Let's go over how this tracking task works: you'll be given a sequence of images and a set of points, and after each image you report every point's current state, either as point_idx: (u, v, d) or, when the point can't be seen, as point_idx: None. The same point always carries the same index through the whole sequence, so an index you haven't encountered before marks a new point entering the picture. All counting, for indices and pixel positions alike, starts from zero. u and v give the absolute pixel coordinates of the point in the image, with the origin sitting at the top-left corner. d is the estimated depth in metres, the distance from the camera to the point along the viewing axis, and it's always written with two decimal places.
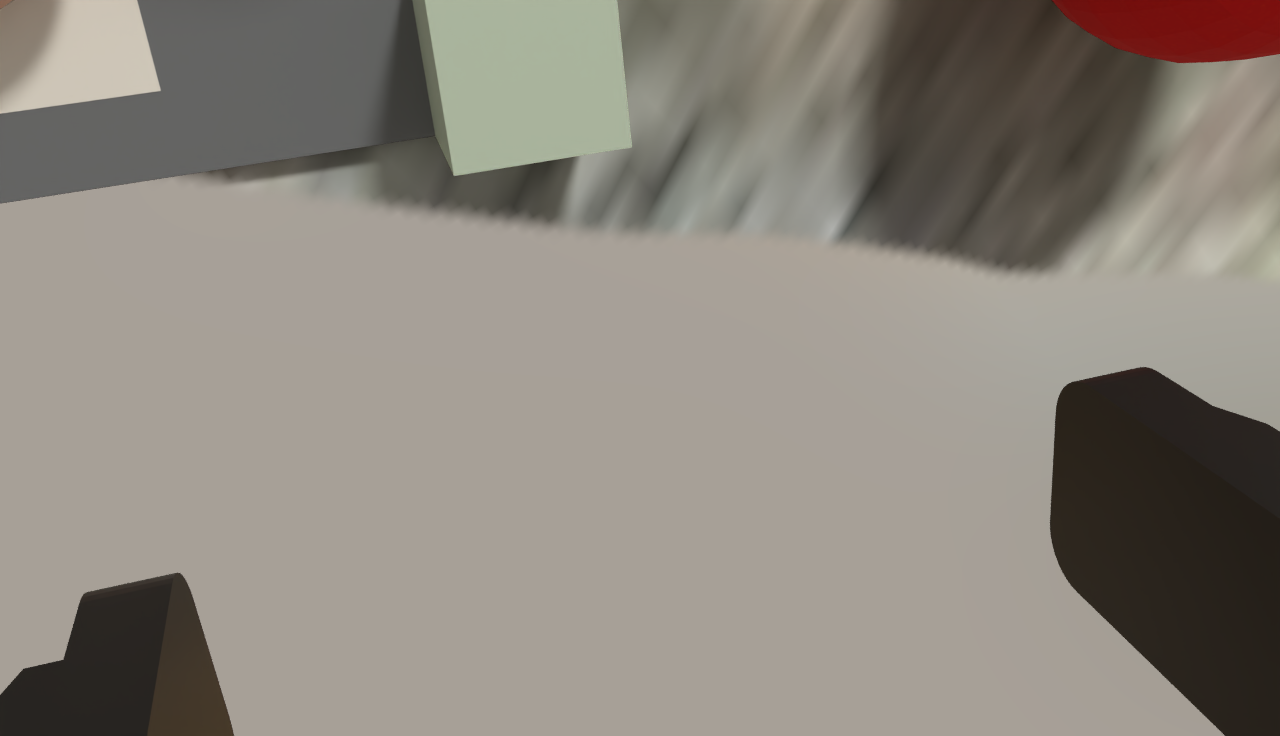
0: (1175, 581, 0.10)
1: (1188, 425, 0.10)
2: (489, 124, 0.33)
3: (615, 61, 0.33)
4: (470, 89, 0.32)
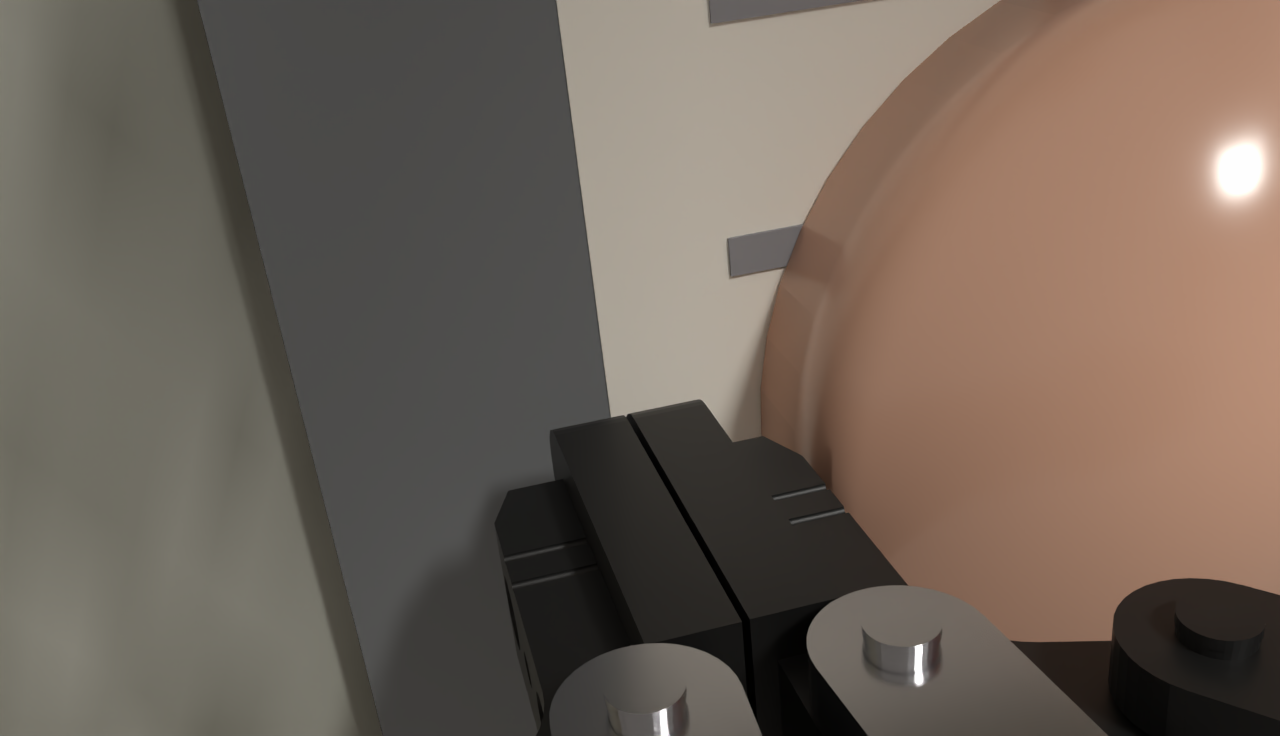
0: None
1: (695, 457, 0.10)
2: None
3: None
4: None
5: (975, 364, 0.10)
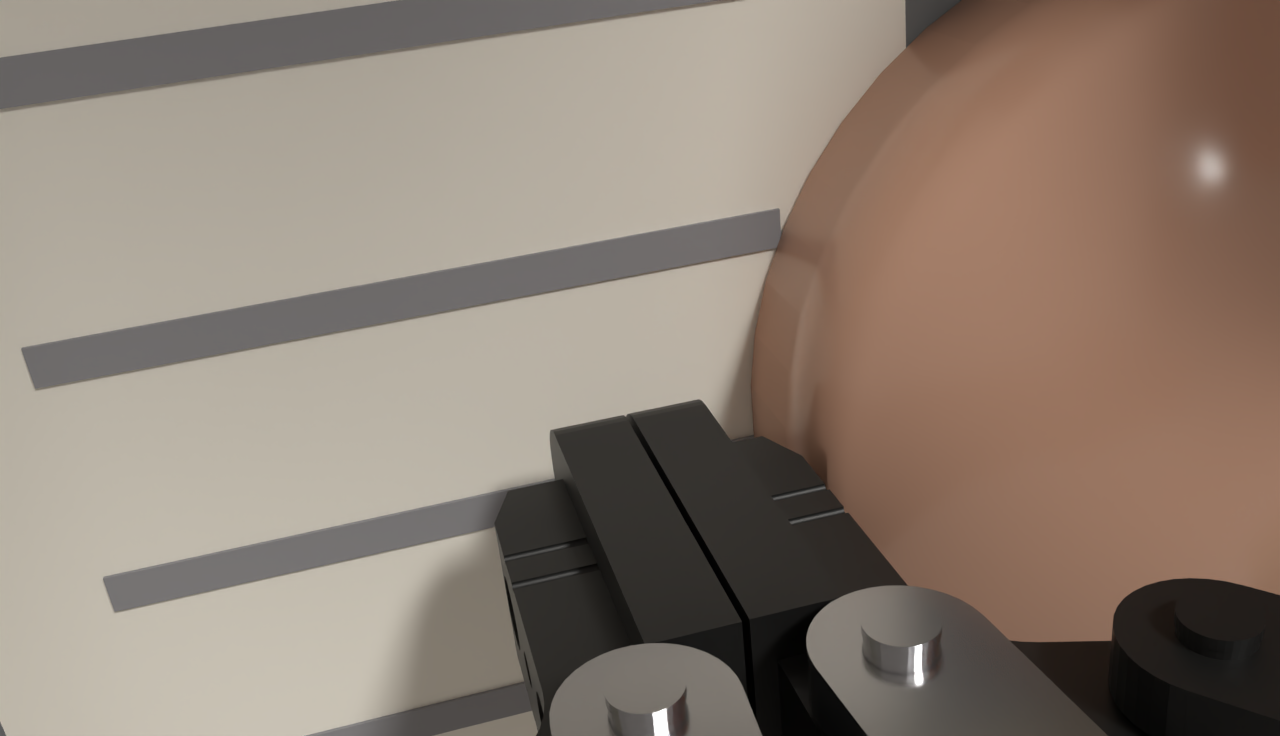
0: None
1: (695, 457, 0.10)
2: None
3: None
4: None
5: (960, 357, 0.10)
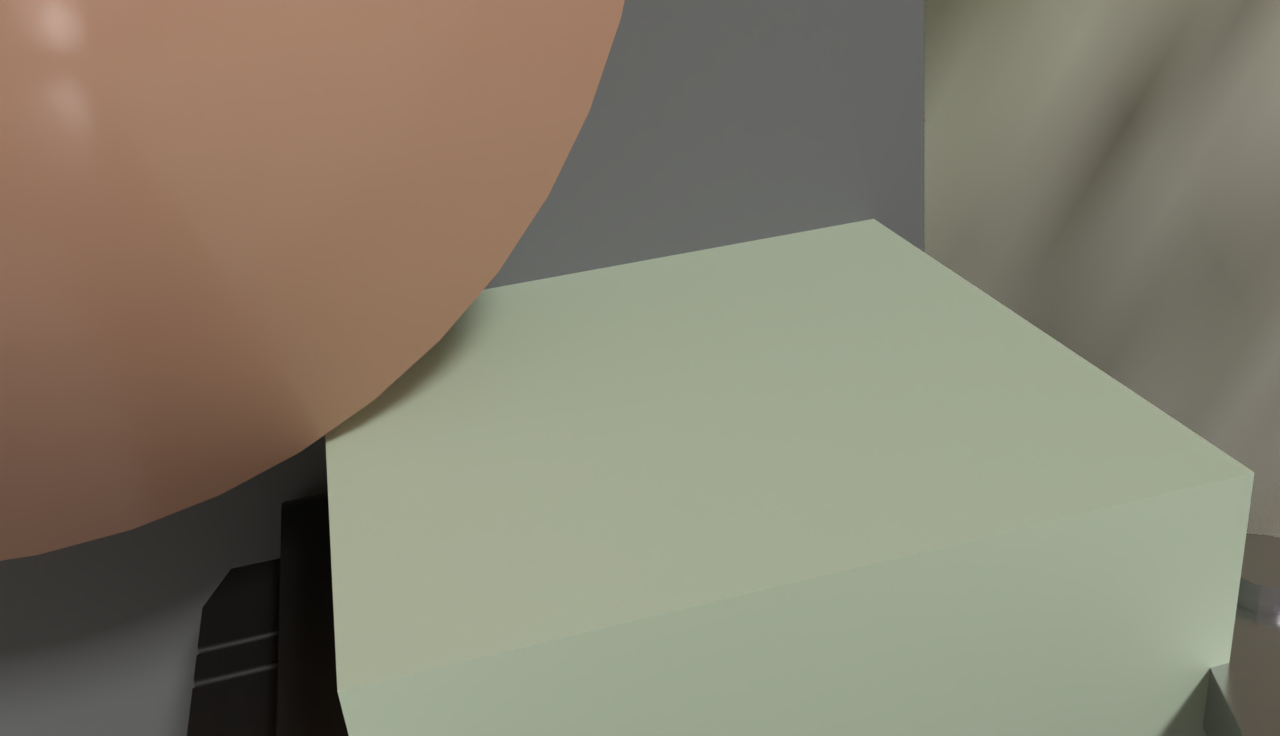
0: None
1: None
2: None
3: None
4: None
5: None
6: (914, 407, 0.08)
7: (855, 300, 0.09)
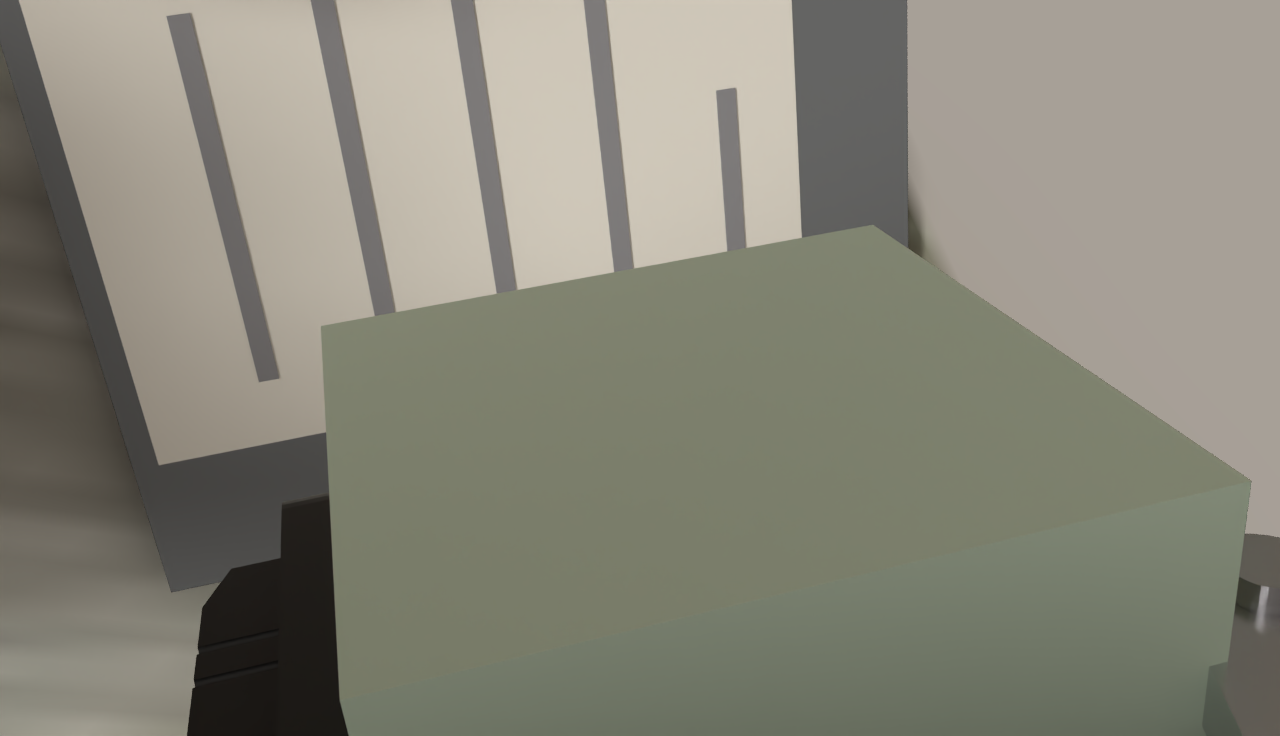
0: None
1: None
2: None
3: None
4: None
5: None
6: (914, 414, 0.08)
7: (856, 307, 0.10)
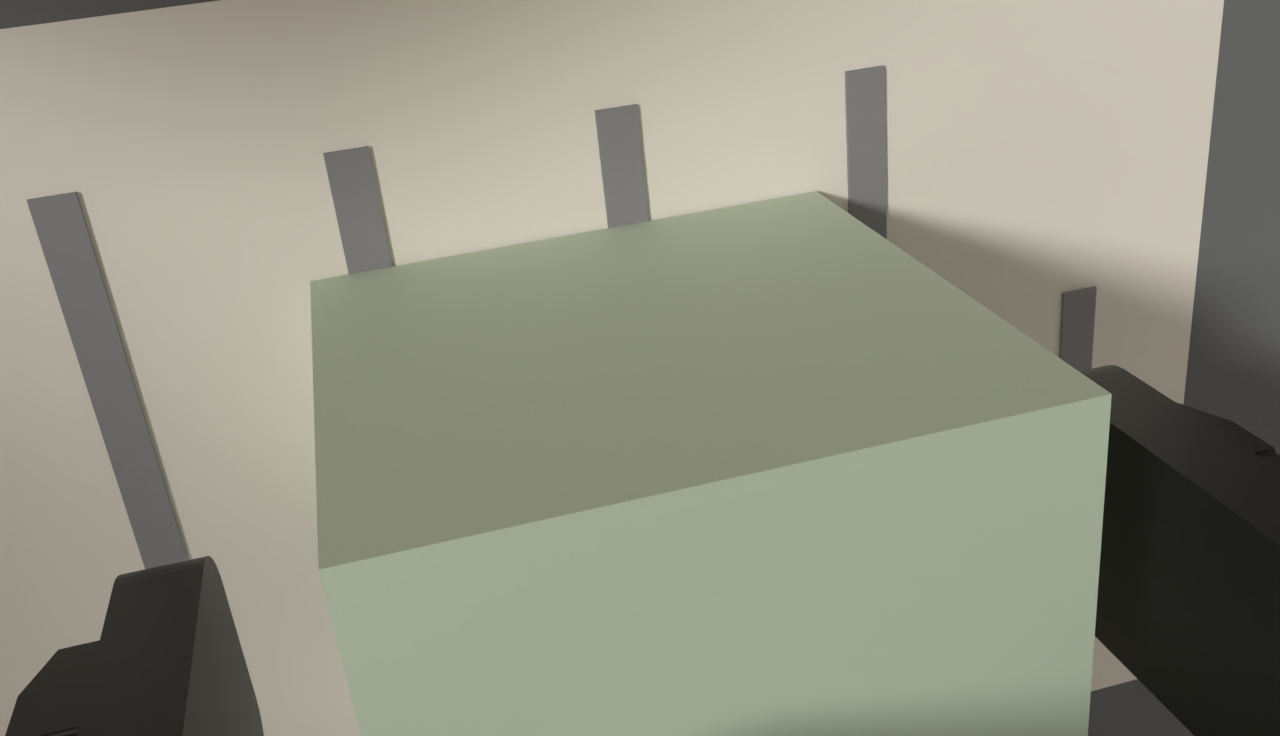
0: (1139, 576, 0.10)
1: (1151, 422, 0.10)
2: None
3: (1062, 719, 0.09)
4: None
5: None
6: (830, 345, 0.09)
7: (790, 260, 0.11)
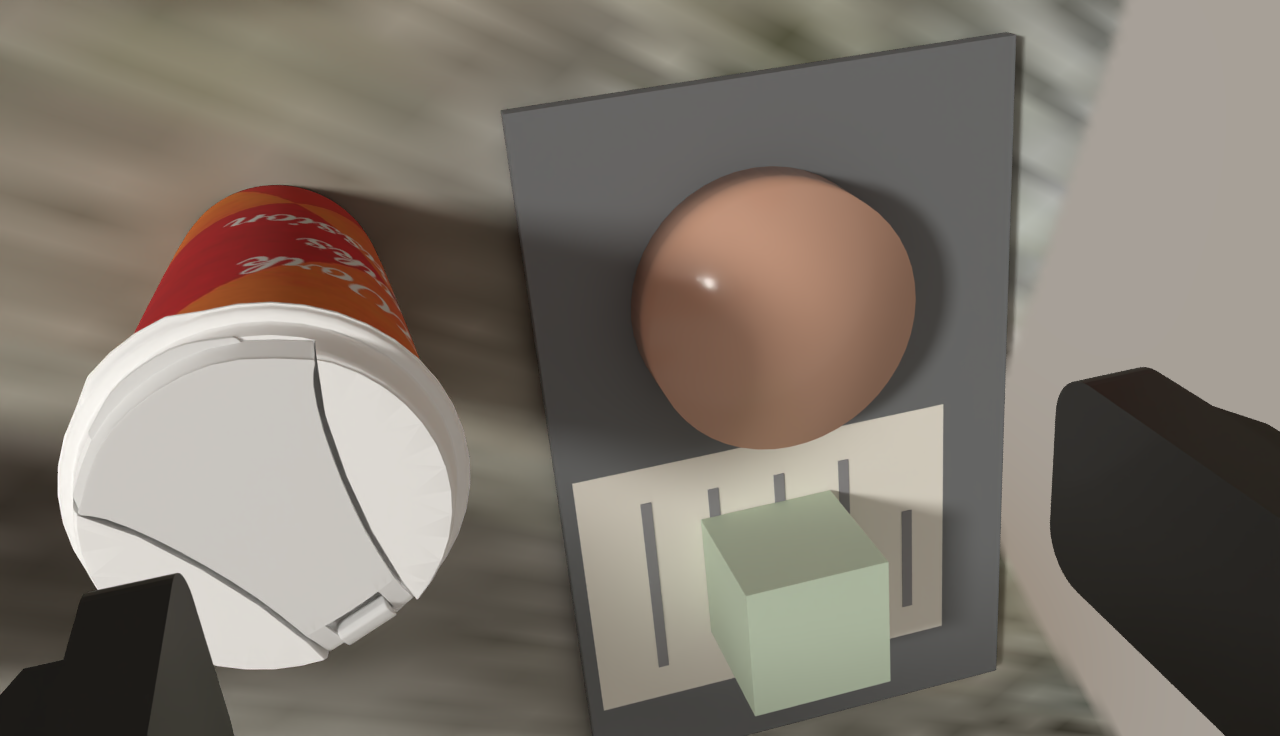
0: (1175, 581, 0.10)
1: (1188, 423, 0.10)
2: (785, 678, 0.41)
3: (883, 626, 0.42)
4: (774, 658, 0.41)
5: (741, 424, 0.40)
6: (834, 547, 0.42)
7: (824, 518, 0.43)
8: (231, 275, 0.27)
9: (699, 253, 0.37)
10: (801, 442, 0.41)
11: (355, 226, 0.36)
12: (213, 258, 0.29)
